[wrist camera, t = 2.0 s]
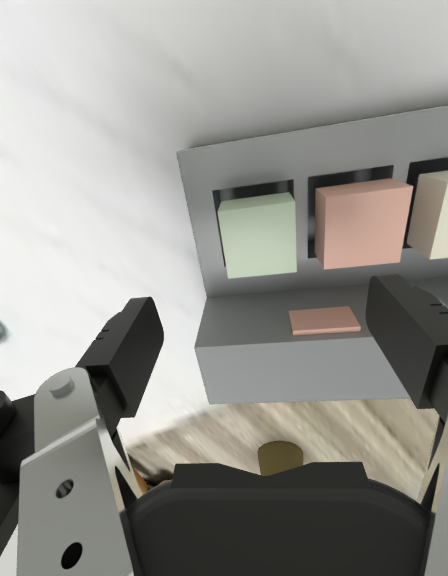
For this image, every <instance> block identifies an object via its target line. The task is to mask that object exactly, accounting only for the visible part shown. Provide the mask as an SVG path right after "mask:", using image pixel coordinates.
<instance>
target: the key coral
mask: <svg viewBox="0 0 448 576" xmlns="http://www.w3.org/2000/svg"><path fill="white" fill-rule="evenodd" d="M412 190H413V186H411V185H408V184H405V183H402V182H399V181H397V180H394V179H391V178H388V179H381V180H374V181H366V182H359V183H352V184H344V185H337V186H330V187H322V188H316V191H315V254H316V256H317V258H318V260H319V262H320V263H321V265H322V267H323V269H324V270H325V269H335V268H346V267H356V266H367V265H377V264H388V263H398V262H400V258H401V252H402V246H403V241H404V235H405V230H406V224H407V218H408V213H409V207H410V202H411V196H412Z"/></svg>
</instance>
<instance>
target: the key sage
mask: <svg viewBox="0 0 448 576" xmlns="http://www.w3.org/2000/svg"><path fill="white" fill-rule="evenodd" d="M218 218H219V225H220V231H221V237H222V243H223V250H224V256H225V262H226V268H227V275H228V279H230V278H240V277H251V276H261V275H272V274H283V273H293V272H297V261H296V214H295V200H294V199H293V197H292V196H291V194H290V193H289V192H286V193H278V194H271V195H264V196H256V197H249V198H242V199H234V200H227V201H222V202H221V204H220V207H219V209H218Z"/></svg>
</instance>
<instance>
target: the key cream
mask: <svg viewBox="0 0 448 576" xmlns="http://www.w3.org/2000/svg"><path fill="white" fill-rule="evenodd" d="M412 186H413V190H412V196H411V202H410V207H409V213H408V218H407V224H406V231H407V232H408V238H407V244H408V245H410V246H411V247H413V248H414V249H415V250H417V251H418V252H420V253H421V254H423V255H424V256H425V257H427V258H428V259H440V258H448V170H447V171H440V172H432V173H425V174H419V177H413V183H412Z"/></svg>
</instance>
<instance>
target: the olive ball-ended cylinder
mask: <svg viewBox="0 0 448 576" xmlns="http://www.w3.org/2000/svg"><path fill="white" fill-rule="evenodd" d="M258 458H259V465H260V472H261V475H262V476H269V475H273V474H276V473H279V472H283V471H286V470H289V469H293V468H296V467H299V466H303V452H302V450H301V449H300V448H299V447H298V446H297V445H294V444H292V443H289V442H284V441H275V442H270V443H267V444H265V445H263V446H262V447H260V448H259V451H258Z"/></svg>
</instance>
